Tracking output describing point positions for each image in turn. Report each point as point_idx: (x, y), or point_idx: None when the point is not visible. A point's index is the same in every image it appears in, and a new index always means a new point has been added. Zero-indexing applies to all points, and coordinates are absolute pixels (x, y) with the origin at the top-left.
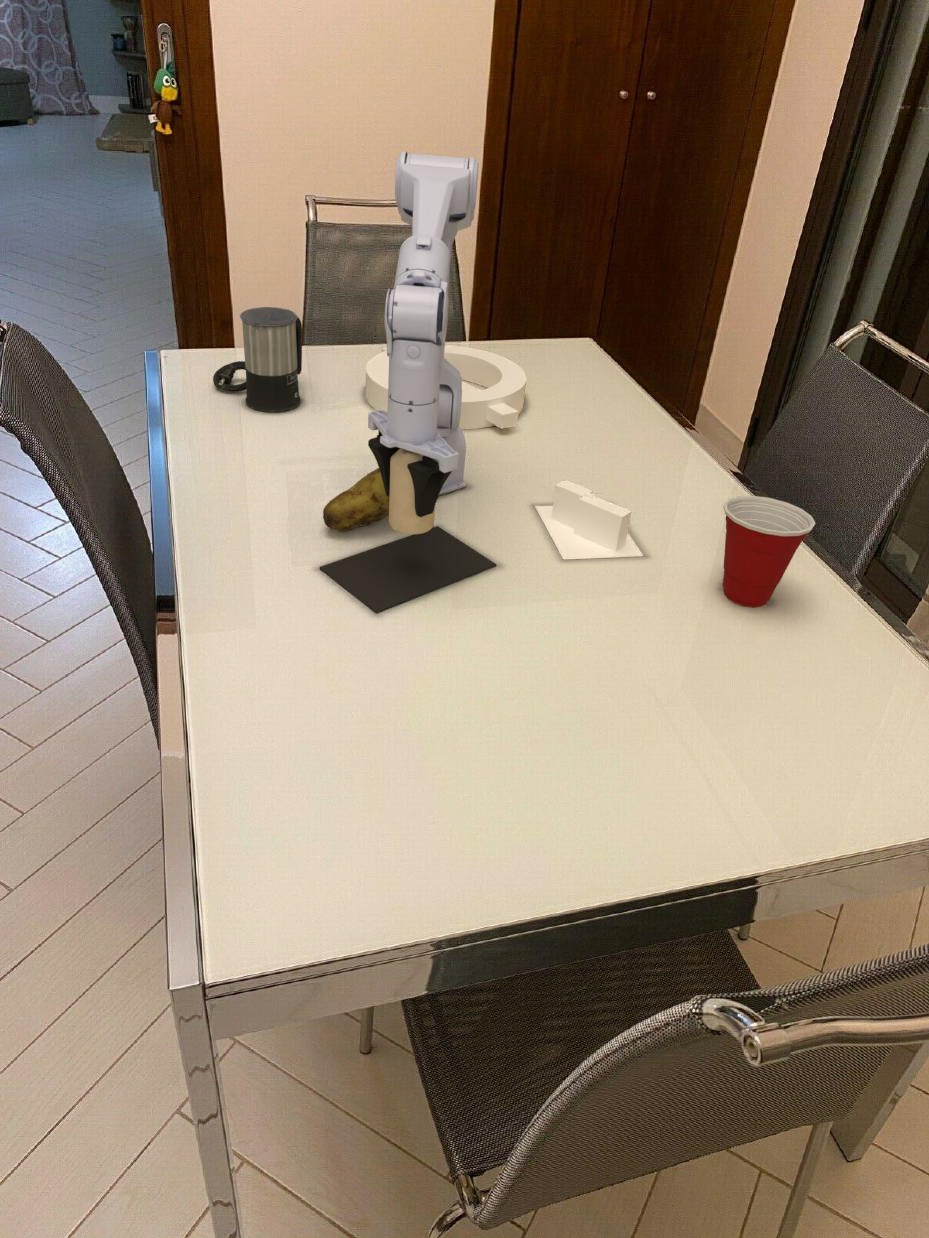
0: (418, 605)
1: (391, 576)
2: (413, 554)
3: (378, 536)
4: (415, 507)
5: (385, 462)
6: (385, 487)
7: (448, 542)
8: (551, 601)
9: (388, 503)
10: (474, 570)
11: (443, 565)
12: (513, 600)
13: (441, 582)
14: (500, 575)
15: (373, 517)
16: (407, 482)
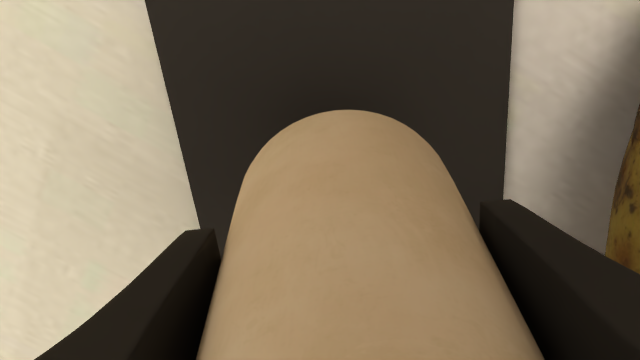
0: (112, 25)
1: (309, 33)
2: None
3: (572, 134)
4: (195, 248)
5: (607, 355)
6: (521, 218)
7: None
8: (16, 353)
9: (620, 231)
10: None
11: None
12: (48, 283)
13: (199, 161)
14: None
15: (627, 151)
16: (232, 338)
